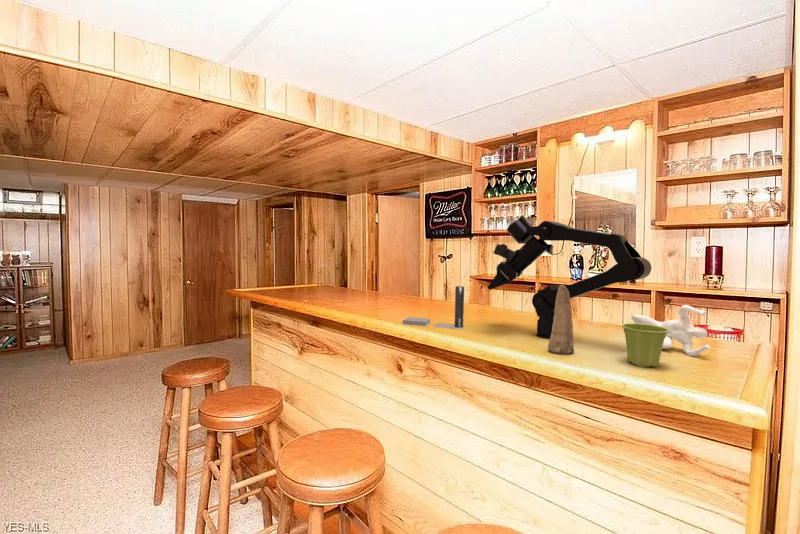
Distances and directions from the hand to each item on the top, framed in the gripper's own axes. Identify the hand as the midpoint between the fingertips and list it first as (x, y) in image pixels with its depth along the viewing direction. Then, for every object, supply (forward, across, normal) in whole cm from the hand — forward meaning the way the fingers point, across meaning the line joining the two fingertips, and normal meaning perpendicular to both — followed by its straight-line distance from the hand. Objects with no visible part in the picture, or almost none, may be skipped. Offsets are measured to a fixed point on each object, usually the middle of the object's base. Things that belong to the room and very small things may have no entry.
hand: (491, 287), depth 128 cm
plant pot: (-18, +22, +38) cm, 47 cm away
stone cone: (-6, +19, +25) cm, 32 cm away
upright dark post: (+19, +3, +1) cm, 19 cm away
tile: (+24, +2, -5) cm, 24 cm away
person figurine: (-24, +4, +44) cm, 50 cm away
